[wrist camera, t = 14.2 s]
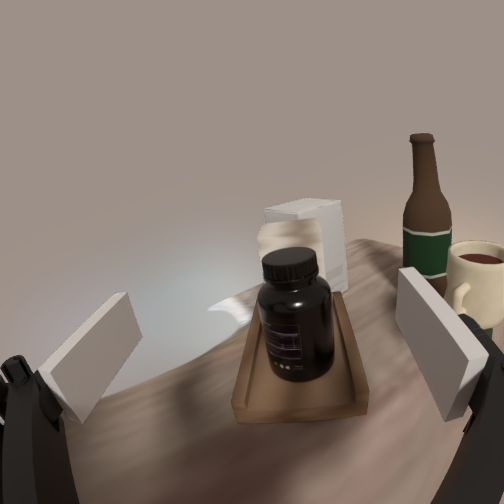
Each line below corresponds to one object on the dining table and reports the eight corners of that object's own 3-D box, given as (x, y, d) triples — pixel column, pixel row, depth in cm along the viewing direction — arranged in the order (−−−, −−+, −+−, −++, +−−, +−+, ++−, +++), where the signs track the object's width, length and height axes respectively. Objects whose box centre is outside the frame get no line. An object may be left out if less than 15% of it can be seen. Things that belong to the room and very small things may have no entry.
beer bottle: (452, 306, 35) (453, 132, 28) (403, 307, 38) (397, 133, 31) (442, 283, 42) (440, 134, 35) (400, 284, 45) (392, 135, 38)
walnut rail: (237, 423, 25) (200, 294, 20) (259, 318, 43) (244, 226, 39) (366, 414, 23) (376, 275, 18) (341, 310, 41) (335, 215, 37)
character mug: (459, 331, 29) (471, 231, 26) (502, 351, 23) (525, 244, 19) (409, 376, 25) (423, 259, 22) (460, 407, 19) (496, 281, 15)
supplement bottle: (291, 339, 34) (278, 240, 30) (345, 351, 29) (341, 244, 26) (256, 373, 29) (233, 265, 25) (314, 393, 24) (305, 273, 21)
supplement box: (313, 277, 54) (305, 197, 50) (349, 290, 47) (343, 199, 42) (274, 294, 50) (261, 207, 46) (308, 312, 43) (297, 211, 38)
